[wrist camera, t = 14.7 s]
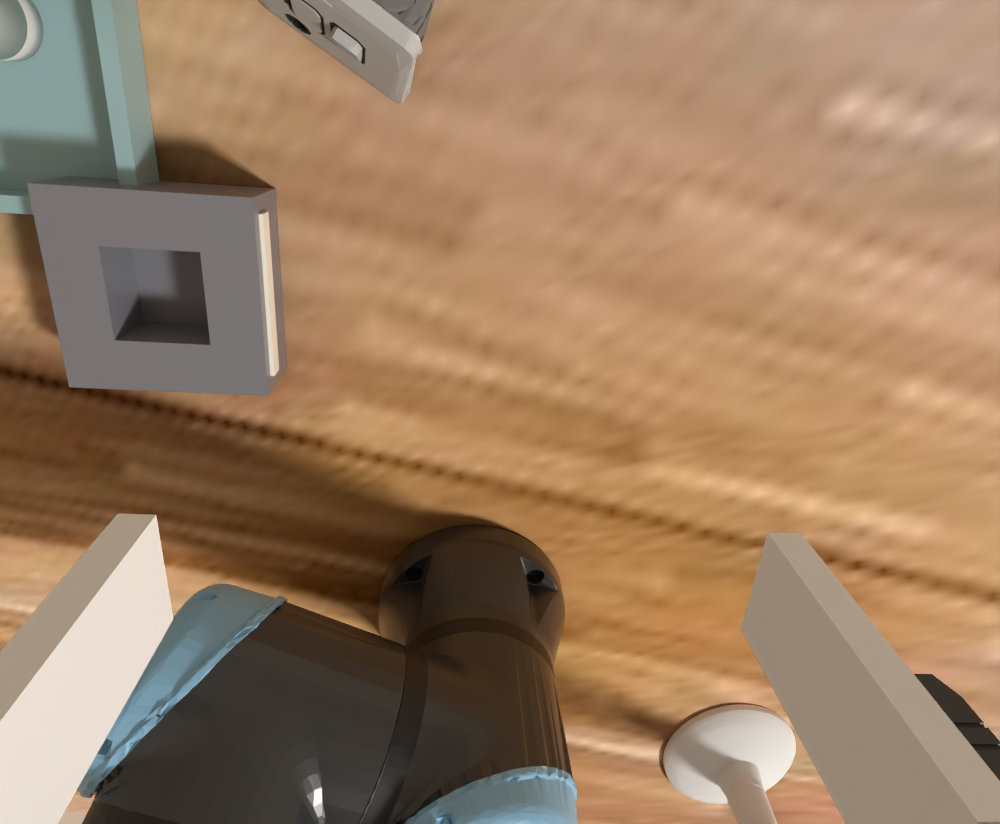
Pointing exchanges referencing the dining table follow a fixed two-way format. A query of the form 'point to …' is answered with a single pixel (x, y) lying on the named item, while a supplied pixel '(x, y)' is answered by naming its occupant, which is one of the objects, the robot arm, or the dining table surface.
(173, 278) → the fuse holder
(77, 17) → the parts tray
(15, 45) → the cylinder
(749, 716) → the candlestick
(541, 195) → the dining table surface
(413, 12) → the electrical switch
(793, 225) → the dining table surface
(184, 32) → the dining table surface
